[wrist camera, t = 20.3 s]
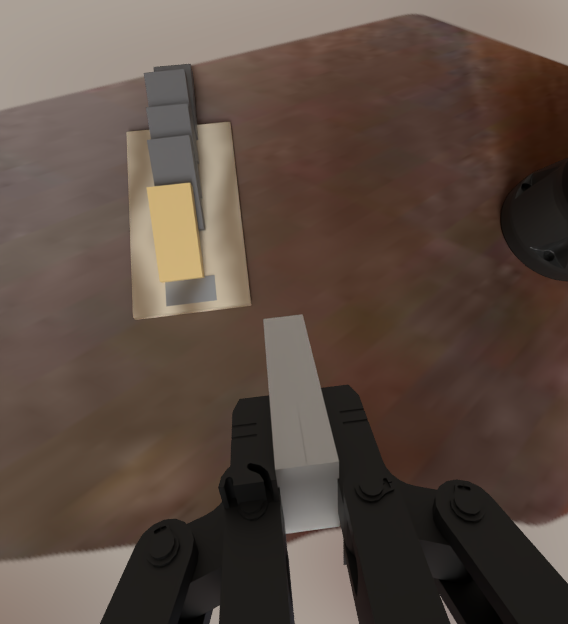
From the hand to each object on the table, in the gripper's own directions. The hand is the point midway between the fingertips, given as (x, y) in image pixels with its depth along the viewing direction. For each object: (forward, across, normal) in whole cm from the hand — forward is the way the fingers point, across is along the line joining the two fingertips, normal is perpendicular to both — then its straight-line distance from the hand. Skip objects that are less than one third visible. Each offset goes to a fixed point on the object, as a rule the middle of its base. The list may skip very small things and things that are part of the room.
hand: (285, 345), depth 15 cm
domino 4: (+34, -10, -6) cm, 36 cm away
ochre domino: (+29, -10, -10) cm, 33 cm away
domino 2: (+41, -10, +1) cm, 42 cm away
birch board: (+37, -10, -5) cm, 39 cm away
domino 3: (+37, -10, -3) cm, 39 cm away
